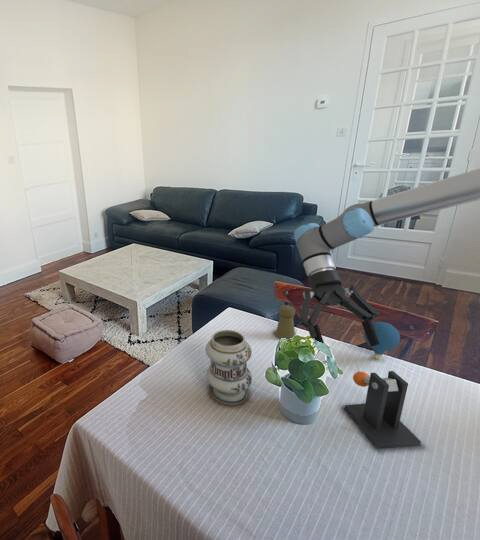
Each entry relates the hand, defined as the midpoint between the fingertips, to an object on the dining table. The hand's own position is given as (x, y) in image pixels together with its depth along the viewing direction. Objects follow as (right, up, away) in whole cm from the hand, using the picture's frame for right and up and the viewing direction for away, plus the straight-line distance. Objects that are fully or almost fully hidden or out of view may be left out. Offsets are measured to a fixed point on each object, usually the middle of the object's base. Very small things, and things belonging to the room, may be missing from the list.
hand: (348, 347), depth 88 cm
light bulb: (+18, -7, +13) cm, 23 cm away
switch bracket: (+1, -16, -9) cm, 19 cm away
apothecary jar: (-29, -14, +7) cm, 33 cm away
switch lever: (0, -8, -9) cm, 12 cm away
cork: (-2, -3, +30) cm, 30 cm away
